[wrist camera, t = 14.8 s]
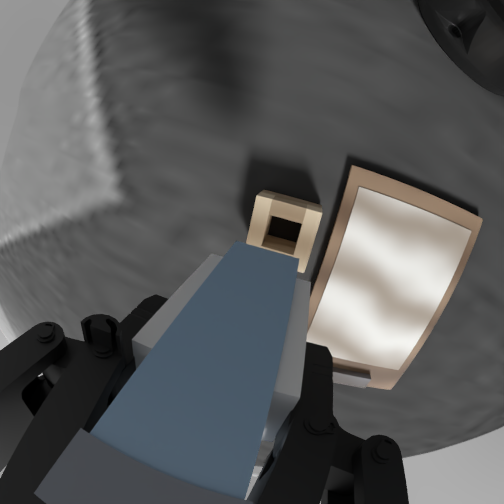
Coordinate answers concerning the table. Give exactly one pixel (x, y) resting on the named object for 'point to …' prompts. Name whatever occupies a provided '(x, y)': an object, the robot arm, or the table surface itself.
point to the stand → (290, 210)
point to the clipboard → (386, 276)
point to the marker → (190, 397)
